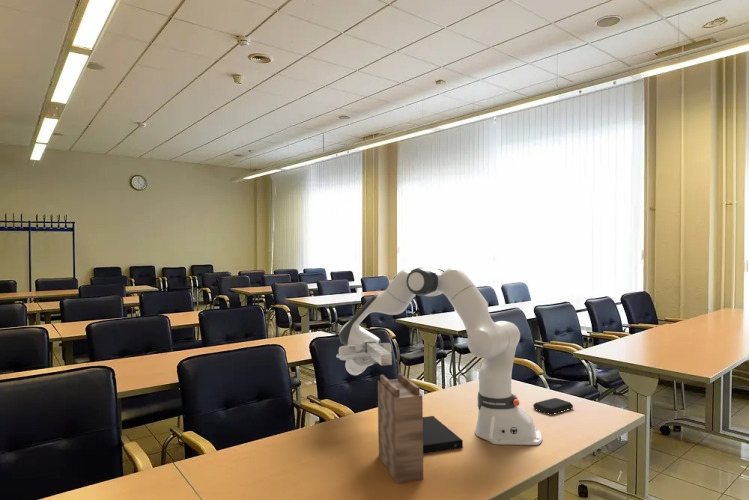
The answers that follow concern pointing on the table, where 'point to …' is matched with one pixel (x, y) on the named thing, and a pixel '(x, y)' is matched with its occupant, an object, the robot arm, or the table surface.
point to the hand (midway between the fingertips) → (369, 344)
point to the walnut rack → (400, 428)
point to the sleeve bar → (377, 352)
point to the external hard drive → (438, 436)
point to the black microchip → (552, 405)
